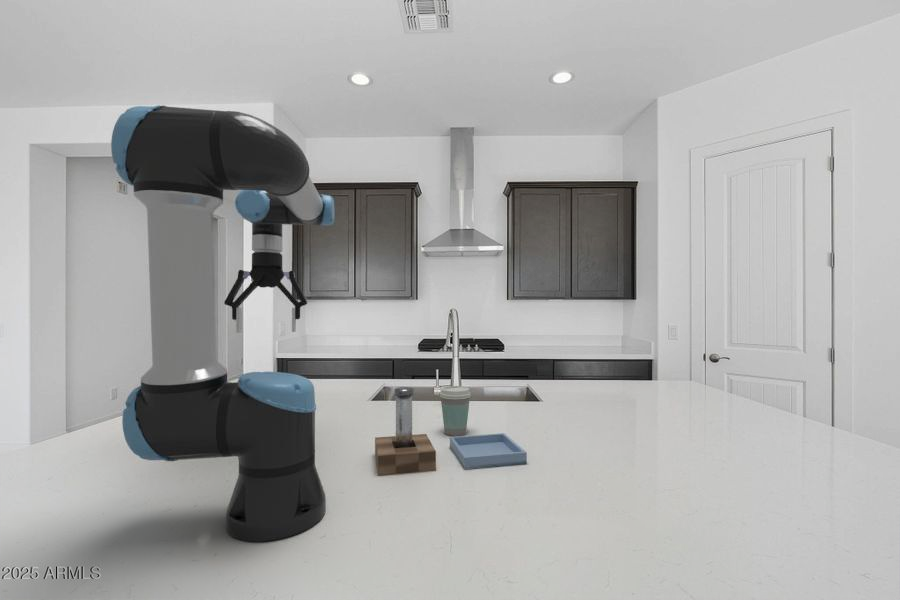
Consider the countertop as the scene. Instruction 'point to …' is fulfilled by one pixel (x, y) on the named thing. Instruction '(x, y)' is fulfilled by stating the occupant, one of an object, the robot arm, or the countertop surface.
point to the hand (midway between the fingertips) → (266, 332)
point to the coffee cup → (455, 409)
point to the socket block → (404, 455)
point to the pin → (403, 416)
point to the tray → (487, 451)
